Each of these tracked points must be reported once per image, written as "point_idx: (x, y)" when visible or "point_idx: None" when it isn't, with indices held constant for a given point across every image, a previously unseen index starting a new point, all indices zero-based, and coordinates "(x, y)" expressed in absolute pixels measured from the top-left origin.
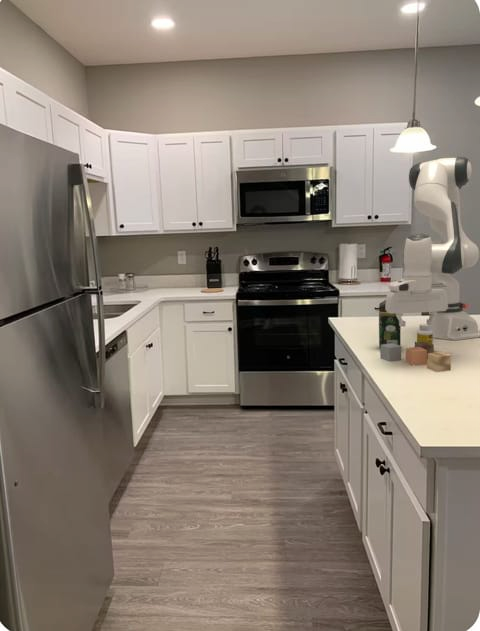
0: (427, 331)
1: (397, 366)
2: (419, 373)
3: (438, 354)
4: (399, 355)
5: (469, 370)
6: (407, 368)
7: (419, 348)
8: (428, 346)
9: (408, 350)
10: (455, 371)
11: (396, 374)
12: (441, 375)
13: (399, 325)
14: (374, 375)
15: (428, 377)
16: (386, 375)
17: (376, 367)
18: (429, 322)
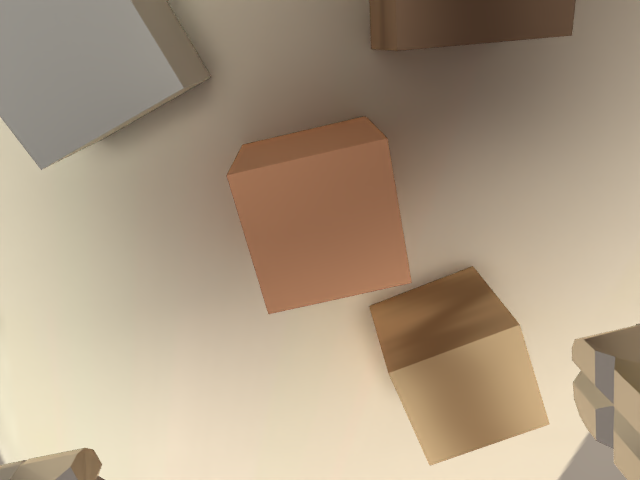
0: None
1: (163, 275)
2: (290, 415)
3: (463, 404)
4: (183, 91)
5: None
6: (231, 321)
7: (362, 206)
8: (502, 39)
9: (245, 232)
10: None
11: (148, 436)
12: (406, 444)
13: (3, 468)
14: (12, 456)
15: (324, 476)
16: None
17: (6, 300)
18: (621, 453)
